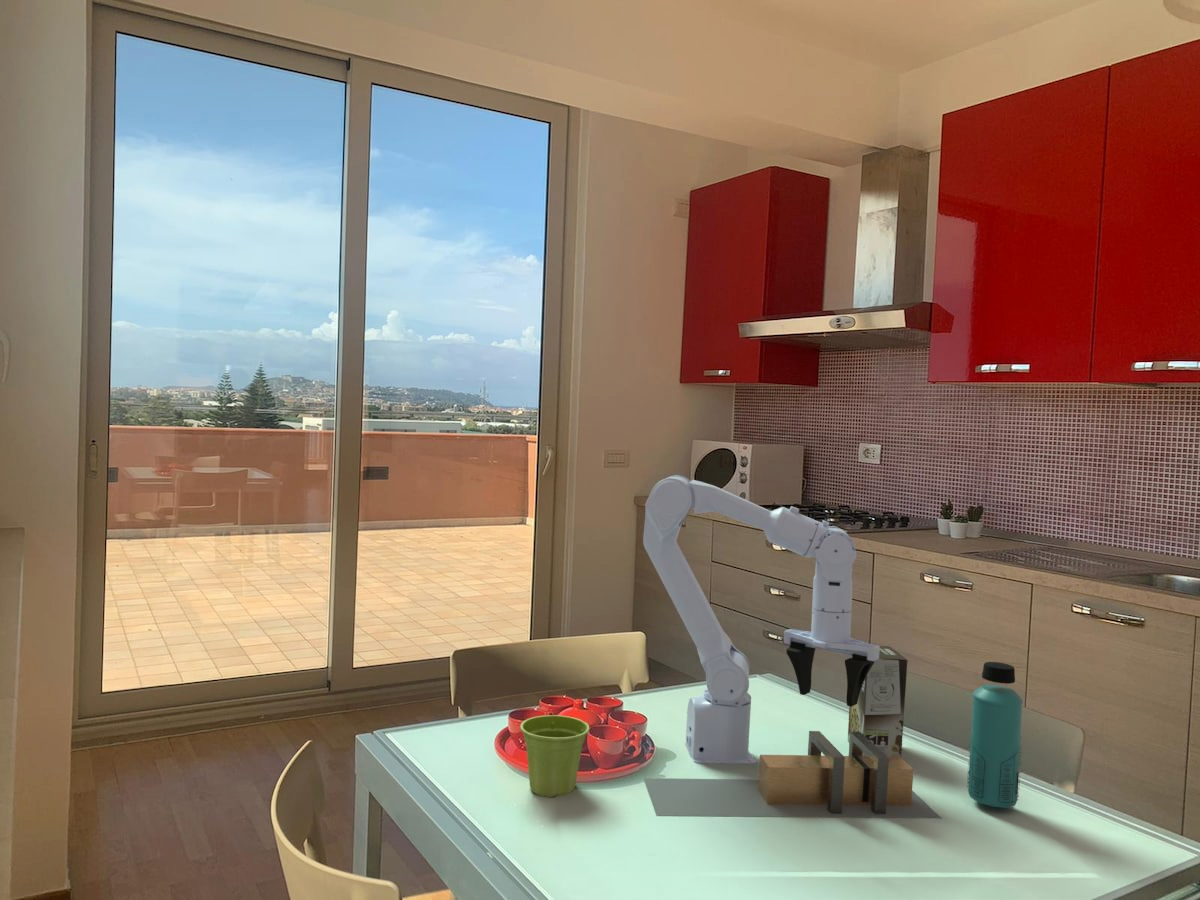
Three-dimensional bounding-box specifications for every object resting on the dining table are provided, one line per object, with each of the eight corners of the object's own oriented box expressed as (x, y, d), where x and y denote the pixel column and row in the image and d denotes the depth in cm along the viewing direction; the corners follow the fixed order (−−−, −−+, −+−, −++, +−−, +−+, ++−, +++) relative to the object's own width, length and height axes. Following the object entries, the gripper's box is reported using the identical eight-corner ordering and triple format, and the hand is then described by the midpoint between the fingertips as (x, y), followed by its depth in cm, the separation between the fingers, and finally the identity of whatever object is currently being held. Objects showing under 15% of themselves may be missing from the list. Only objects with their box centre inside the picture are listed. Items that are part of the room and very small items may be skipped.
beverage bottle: (1023, 822, 118) (1032, 672, 118) (970, 815, 120) (979, 667, 119) (1010, 802, 125) (1019, 660, 124) (960, 796, 126) (969, 655, 125)
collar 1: (830, 813, 117) (833, 757, 117) (806, 783, 127) (809, 730, 127) (841, 813, 117) (844, 757, 117) (816, 783, 127) (819, 731, 127)
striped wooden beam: (767, 804, 119) (769, 766, 119) (757, 790, 123) (759, 754, 123) (911, 805, 121) (913, 768, 121) (897, 791, 125) (899, 756, 125)
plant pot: (503, 792, 119) (506, 728, 119) (540, 770, 128) (543, 710, 127) (564, 809, 115) (567, 743, 115) (598, 785, 123) (601, 723, 123)
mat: (656, 818, 114) (656, 815, 114) (643, 780, 126) (643, 778, 126) (941, 821, 117) (942, 818, 117) (902, 784, 129) (902, 781, 129)
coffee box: (902, 763, 138) (909, 659, 137) (861, 761, 138) (867, 657, 137) (885, 742, 147) (891, 645, 146) (845, 740, 147) (851, 643, 146)
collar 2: (874, 814, 117) (878, 757, 117) (846, 783, 127) (850, 731, 127) (885, 814, 118) (889, 757, 117) (857, 783, 127) (860, 731, 127)
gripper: (775, 604, 135) (771, 693, 136) (866, 620, 126) (862, 716, 126) (797, 599, 141) (794, 684, 141) (886, 614, 131) (883, 705, 131)
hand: (828, 699), depth 134 cm, fingers open, 7 cm apart
